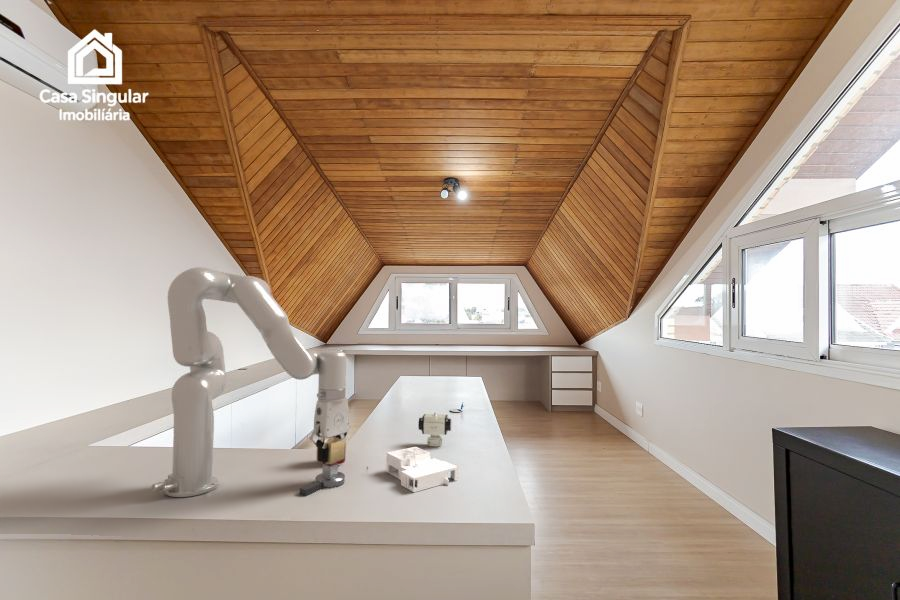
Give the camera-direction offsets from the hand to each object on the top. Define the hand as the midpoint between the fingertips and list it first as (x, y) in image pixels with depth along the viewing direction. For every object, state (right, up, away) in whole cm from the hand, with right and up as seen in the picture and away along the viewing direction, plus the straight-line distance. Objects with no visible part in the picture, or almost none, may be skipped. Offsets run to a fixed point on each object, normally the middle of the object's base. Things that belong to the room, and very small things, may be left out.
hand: (330, 458), depth 125 cm
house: (+26, -8, +3) cm, 27 cm away
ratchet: (-2, -7, -3) cm, 8 cm away
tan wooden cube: (0, 0, 0) cm, 0 cm away
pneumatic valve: (+28, -9, +37) cm, 47 cm away
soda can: (-3, -8, +16) cm, 18 cm away
